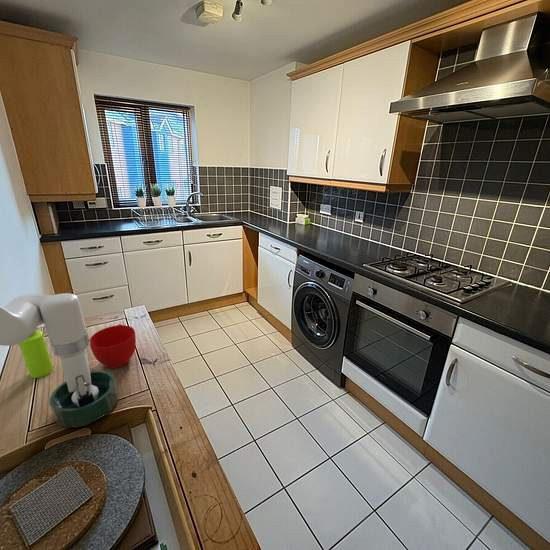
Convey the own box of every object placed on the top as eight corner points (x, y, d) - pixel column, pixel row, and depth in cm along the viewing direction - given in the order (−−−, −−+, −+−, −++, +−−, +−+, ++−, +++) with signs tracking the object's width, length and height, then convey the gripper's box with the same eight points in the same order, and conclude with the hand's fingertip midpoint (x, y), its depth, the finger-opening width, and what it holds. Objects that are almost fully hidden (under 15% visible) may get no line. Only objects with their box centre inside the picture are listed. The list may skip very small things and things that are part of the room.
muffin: (103, 394, 82) (98, 374, 80) (98, 410, 77) (93, 389, 74) (78, 398, 80) (72, 378, 78) (71, 416, 75) (64, 395, 72)
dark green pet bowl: (57, 440, 69) (50, 421, 67) (54, 402, 80) (48, 384, 78) (123, 411, 77) (120, 393, 75) (113, 380, 88) (109, 364, 86)
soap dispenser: (48, 361, 95) (30, 307, 88) (56, 370, 92) (39, 314, 85) (25, 371, 91) (5, 315, 84) (34, 380, 87) (13, 322, 80)
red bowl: (143, 341, 108) (139, 317, 104) (136, 370, 92) (131, 344, 89) (104, 346, 104) (98, 322, 100) (90, 377, 89) (83, 350, 85)
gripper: (50, 332, 75) (67, 386, 82) (53, 367, 63) (72, 428, 69) (84, 323, 80) (97, 376, 86) (93, 355, 67) (108, 413, 74)
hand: (86, 399), depth 78 cm, fingers closed on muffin, 6 cm apart
